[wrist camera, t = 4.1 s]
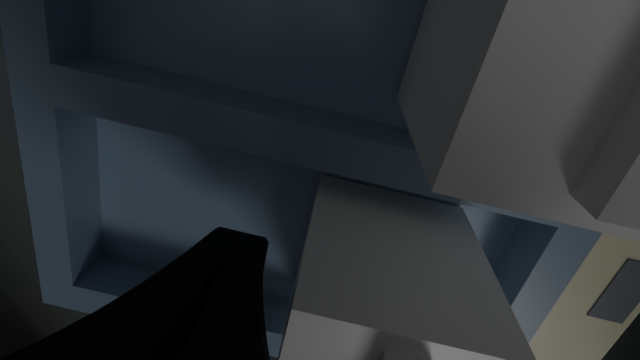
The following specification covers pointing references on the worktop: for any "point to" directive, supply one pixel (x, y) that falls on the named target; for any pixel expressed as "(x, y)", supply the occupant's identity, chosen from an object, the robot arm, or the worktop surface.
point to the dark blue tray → (255, 152)
